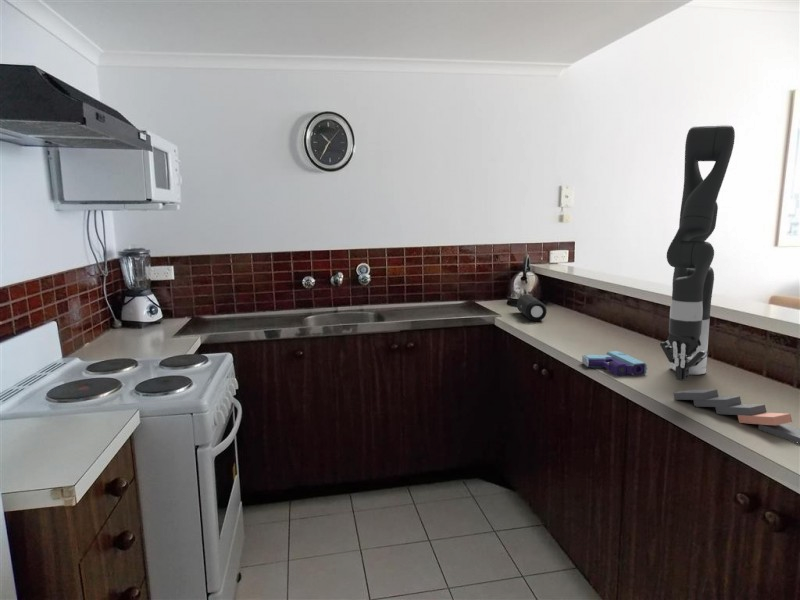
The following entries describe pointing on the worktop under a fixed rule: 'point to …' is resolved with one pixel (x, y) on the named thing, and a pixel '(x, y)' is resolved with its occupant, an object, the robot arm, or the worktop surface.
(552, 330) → the worktop surface
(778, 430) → the domino
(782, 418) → the domino
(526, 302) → the portable speaker
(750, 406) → the domino
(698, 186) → the robot arm
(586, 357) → the pistol
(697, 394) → the domino
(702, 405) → the domino
